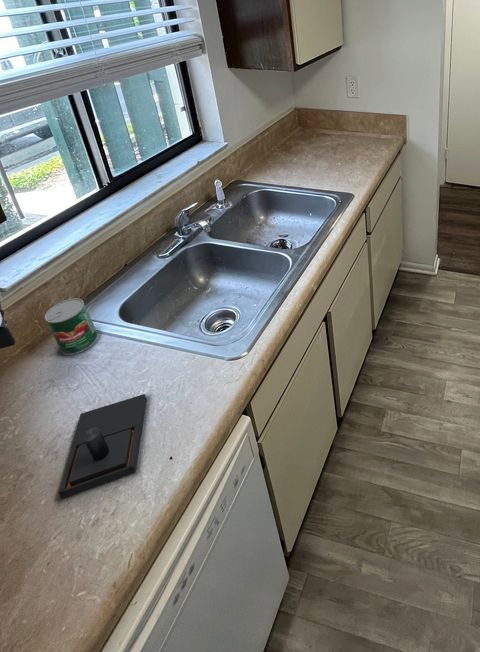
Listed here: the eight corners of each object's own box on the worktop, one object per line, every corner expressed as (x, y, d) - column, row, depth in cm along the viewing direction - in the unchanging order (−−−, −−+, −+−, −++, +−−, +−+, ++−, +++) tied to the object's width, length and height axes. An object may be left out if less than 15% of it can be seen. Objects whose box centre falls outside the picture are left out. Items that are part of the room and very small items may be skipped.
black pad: (71, 486, 80) (56, 462, 77) (81, 449, 86) (68, 426, 82) (127, 466, 83) (115, 442, 79) (132, 432, 89) (122, 409, 85)
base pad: (60, 499, 79) (57, 493, 78) (83, 419, 92) (80, 413, 91) (135, 472, 83) (133, 466, 82) (146, 399, 96) (144, 393, 95)
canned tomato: (88, 325, 115) (74, 293, 111) (104, 337, 112) (90, 305, 107) (54, 347, 109) (37, 314, 104) (70, 360, 106) (54, 327, 101)
